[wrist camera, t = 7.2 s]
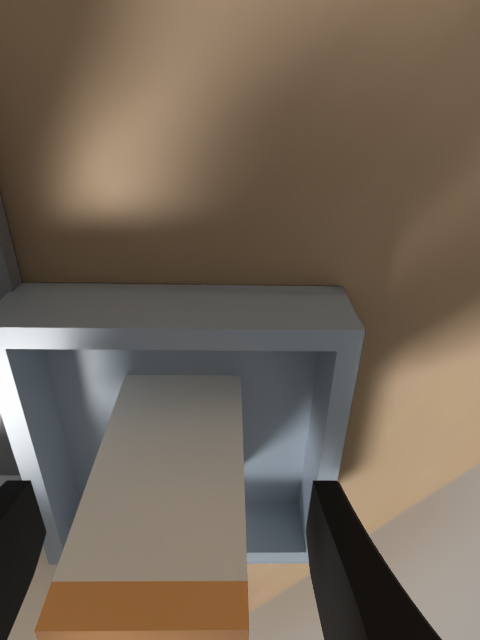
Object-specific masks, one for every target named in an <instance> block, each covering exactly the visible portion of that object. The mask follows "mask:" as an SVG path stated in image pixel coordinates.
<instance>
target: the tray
mask: <svg viewBox="0 0 480 640" xmlns="http://www.w3.org/2000/svg"><path fill="white" fill-rule="evenodd" d="M364 335H365V329H364V327H363V325H362V323H361V321H360V319H359V318H358V316H357V314H356V312H355V310H354V308H353V306H352V304H351V302H350V300H349V299H348V297H347V295H346V293H345V291H344V289H343V287H342V286H266V285H178V284H90V283H21V284H20V285H19V286H18V287H17V288H16V289H15V290H14V291H13V292H8V293H7V294H6V295H5V296H4V297H3V298H2V299H1V300H0V413H1V417H2V420H3V423H4V426H5V429H6V432H7V435H8V438H9V441H10V444H11V448H12V451H13V454H14V457H15V460H16V463H17V466H18V469H19V472H20V476H21V479H22V480H31V483H32V486H33V489H34V492H35V496H36V499H37V502H38V505H39V509H40V512H41V515H42V518H43V522H44V525H45V528H46V531H47V533H46V536H45V540H44V543H43V547H44V550H45V553H46V556H47V560H48V563H49V564H58V563H59V560H60V557H61V554H62V551H63V549H64V546H65V543H66V540H67V537H68V535H69V532H70V529H71V526H72V523H73V520H74V518H75V515H76V512H77V509H78V506H79V504H80V501H81V498H82V495H83V492H84V490H85V487H86V484H87V481H88V478H89V476H90V473H91V470H92V467H93V464H94V461H95V459H96V456H97V453H98V450H99V447H100V445H101V442H102V439H103V436H104V433H105V431H106V428H107V425H108V422H109V419H110V416H111V414H112V411H113V408H114V405H115V402H116V400H117V397H118V394H119V391H120V388H121V386H122V383H123V380H124V377H125V375H234V376H241V392H242V423H243V455H244V486H245V517H246V549H247V564H258V563H309V558H308V550H307V540H306V525H307V518H308V511H309V504H310V497H311V490H312V484H313V480H338V475H339V470H340V464H341V459H342V453H343V448H344V443H345V437H346V432H347V427H348V421H349V416H350V410H351V405H352V400H353V394H354V389H355V384H356V378H357V373H358V367H359V362H360V357H361V351H362V346H363V341H364Z"/></svg>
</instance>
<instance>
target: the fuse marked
mask: <svg viewBox="0 0 480 640" xmlns="http://www.w3.org/2000/svg"><path fill="white" fill-rule="evenodd" d="M34 632H35V635H36V638H37V640H248V638H249V611H248V580H247V549H246V517H245V486H244V455H243V423H242V392H241V376H234V375H125V377H124V380H123V383H122V386H121V388H120V391H119V394H118V397H117V400H116V402H115V405H114V408H113V411H112V414H111V416H110V419H109V422H108V425H107V428H106V431H105V433H104V436H103V439H102V442H101V445H100V447H99V450H98V453H97V456H96V459H95V461H94V464H93V467H92V470H91V473H90V476H89V478H88V481H87V484H86V487H85V490H84V492H83V495H82V498H81V501H80V504H79V506H78V509H77V512H76V515H75V518H74V520H73V523H72V526H71V529H70V532H69V535H68V537H67V540H66V543H65V546H64V549H63V551H62V554H61V557H60V560H59V563H58V565H57V568H56V571H55V574H54V577H53V580H52V582H51V585H50V588H49V591H48V594H47V596H46V599H45V602H44V605H43V608H42V610H41V613H40V616H39V619H38V622H37V625H36V627H35V630H34Z"/></svg>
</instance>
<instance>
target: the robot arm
mask: <svg viewBox="0 0 480 640" xmlns="http://www.w3.org/2000/svg"><path fill="white" fill-rule="evenodd" d="M46 533H47V531H46V528H45V525H44V522H43V518H42V515H41V512H40V509H39V505H38V502H37V499H36V496H35V492H34V489H33V486H32V483H31V480H7V481H5V482H4V483H3V484H2V485H1V486H0V640H7V639H8V637H9V634H10V632H11V630H12V627H13V625H14V623H15V620H16V618H17V615H18V613H19V611H20V608H21V606H22V603H23V601H24V599H25V596H26V594H27V591H28V589H29V586H30V584H31V581H32V579H33V576H34V574H35V570H36V567H37V564H38V561H39V557H40V554H41V550H42V547H43V543H44V540H45V536H46ZM306 540H307V550H308V558H309V567H310V574H311V579H312V584H313V589H314V594H315V598H316V603H317V608H318V612H319V617H320V621H321V626H322V631H323V635H324V640H442V639H441V638H440V637H439V636H438V634H437V633H436V632H435V631H434V629H433V628H432V627H431V625H430V624H429V623H428V621H427V620H426V619H425V617H424V616H423V615H422V613H421V612H420V611H419V609H418V608H417V607H416V605H415V604H414V603H413V601H412V600H411V598H410V597H409V596H408V594H407V593H406V591H405V590H404V589H403V587H402V586H401V584H400V583H399V582H398V580H397V578H396V577H395V575H394V574H393V573H392V571H391V570H390V568H389V567H388V565H387V564H386V562H385V561H384V559H383V557H382V556H381V554H380V553H379V551H378V549H377V548H376V546H375V545H374V543H373V542H372V540H371V538H370V537H369V535H368V533H367V532H366V530H365V528H364V527H363V525H362V523H361V522H360V520H359V518H358V516H357V515H356V513H355V511H354V509H353V508H352V506H351V504H350V502H349V500H348V498H347V496H346V494H345V493H344V491H343V489H342V487H341V485H340V483H339V482H338V481H337V480H313V484H312V490H311V497H310V504H309V511H308V518H307V525H306Z"/></svg>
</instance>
